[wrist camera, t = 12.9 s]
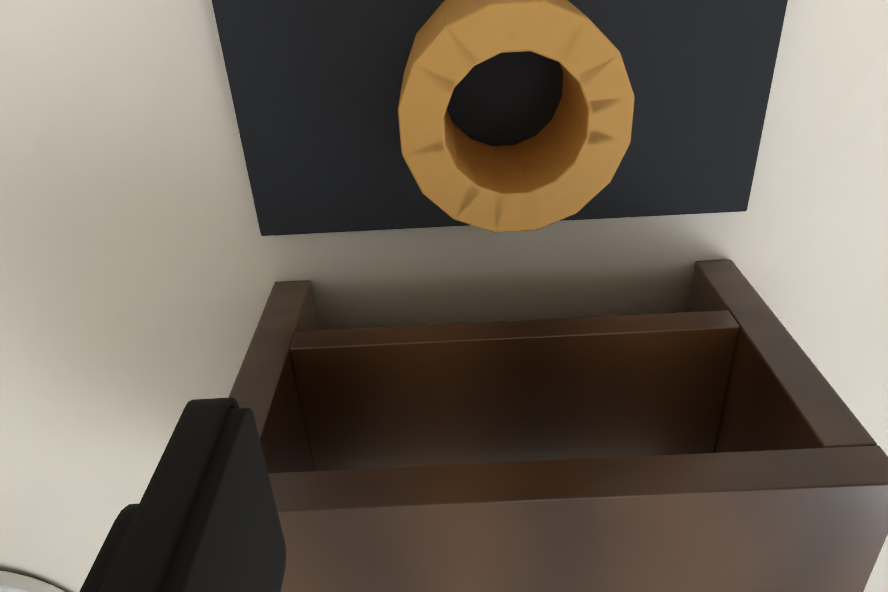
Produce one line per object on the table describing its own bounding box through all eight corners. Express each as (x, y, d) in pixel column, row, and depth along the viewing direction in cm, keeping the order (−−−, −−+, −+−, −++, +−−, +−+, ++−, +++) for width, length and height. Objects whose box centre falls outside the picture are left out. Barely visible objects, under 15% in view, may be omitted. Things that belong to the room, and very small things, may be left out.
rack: (314, 477, 36) (261, 740, 25) (274, 281, 30) (179, 515, 19) (693, 460, 36) (810, 719, 25) (731, 258, 30) (910, 483, 19)
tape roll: (412, 183, 27) (408, 237, 23) (397, -14, 23) (389, 8, 19) (594, 174, 27) (623, 226, 23) (607, -26, 23) (644, -7, 19)
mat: (263, 230, 29) (260, 236, 28) (202, -65, 23) (197, -64, 22) (741, 205, 28) (747, 211, 28) (799, -100, 23) (807, -99, 22)
